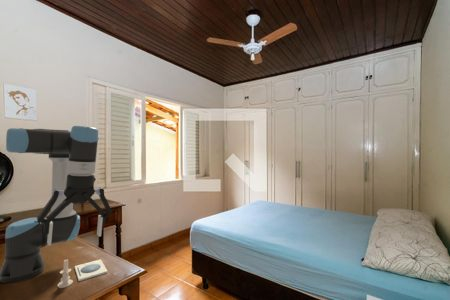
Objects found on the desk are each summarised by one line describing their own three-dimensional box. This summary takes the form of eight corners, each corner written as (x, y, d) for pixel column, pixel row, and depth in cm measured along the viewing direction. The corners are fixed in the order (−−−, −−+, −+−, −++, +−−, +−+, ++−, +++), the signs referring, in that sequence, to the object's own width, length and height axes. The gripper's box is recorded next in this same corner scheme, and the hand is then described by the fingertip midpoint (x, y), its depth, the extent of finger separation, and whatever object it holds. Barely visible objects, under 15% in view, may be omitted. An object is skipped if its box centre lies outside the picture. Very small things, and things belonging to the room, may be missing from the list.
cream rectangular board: (74, 267, 105) (74, 265, 105) (100, 260, 112) (100, 259, 112) (78, 281, 95) (78, 279, 95) (107, 272, 102) (107, 270, 102)
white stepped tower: (74, 284, 93) (75, 258, 93) (59, 289, 89) (59, 263, 89) (71, 279, 96) (71, 254, 96) (56, 284, 92) (56, 258, 92)
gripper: (30, 176, 61) (24, 253, 62) (125, 175, 78) (119, 235, 78) (30, 172, 67) (23, 243, 67) (118, 172, 84) (113, 228, 84)
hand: (75, 239), depth 73 cm, fingers open, 13 cm apart
